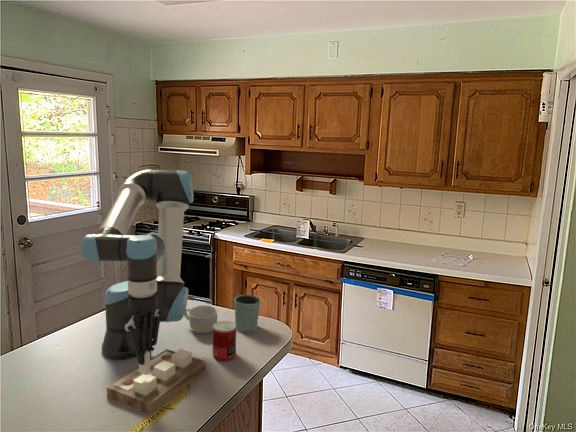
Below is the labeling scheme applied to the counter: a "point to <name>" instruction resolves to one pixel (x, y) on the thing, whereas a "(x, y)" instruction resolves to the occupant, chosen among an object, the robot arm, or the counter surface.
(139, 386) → the button
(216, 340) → the canned food
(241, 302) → the blue-green cup
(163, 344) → the counter surface
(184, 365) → the button
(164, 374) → the button middle
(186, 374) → the button board
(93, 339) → the counter surface
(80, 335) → the counter surface
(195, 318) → the teacup
